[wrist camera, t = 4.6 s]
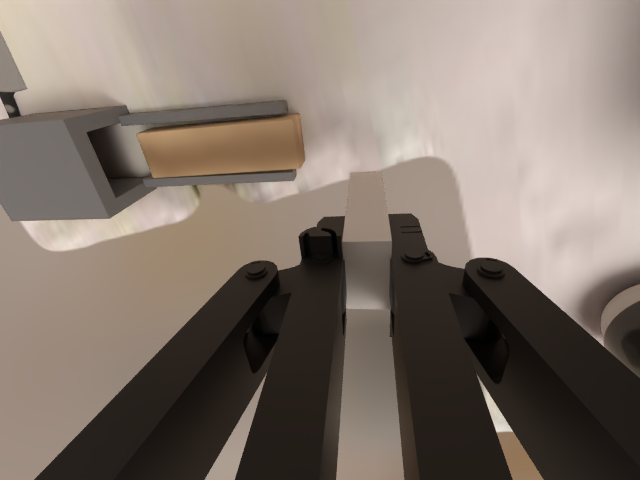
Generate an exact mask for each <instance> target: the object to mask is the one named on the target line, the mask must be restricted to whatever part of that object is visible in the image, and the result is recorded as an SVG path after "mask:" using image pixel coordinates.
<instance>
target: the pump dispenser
mask: <svg viewBox="0 0 640 480" xmlns="http://www.w3.org/2000/svg"><path fill="white" fill-rule="evenodd" d="M601 332H602V336H603V339H604V346H605V348H606V349H607V350H608V351H609V352H610V353H612V354H613V355H614V356H615V357H616V358H617V359H618V360H620V361H621V362H622V363H623V364H624V365H625V366H626V367H628V368H629V369H630V370H631V371H632V372H633V373H634V374H636V375H637V376H638V377H639V378H640V284H638V285H635V286H632V287H630V288H628V289H626V290H624V291H622V292H620V293H619V294H617V295H616V296H615V297H614V298H612V299H611V300H610V301H609V303H608V304H607V305H606V307H605V308H604V310H603V313H602V316H601Z"/></svg>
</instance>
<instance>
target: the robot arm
mask: <svg viewBox="0 0 640 480" xmlns="http://www.w3.org/2000/svg"><path fill="white" fill-rule="evenodd" d="M299 243H300V250H301V256H302V260H301V263H300V265H298V266H295V267H292V268H289V269H284V270H279V271H278V269H277V266H276V265H275V264H274V263H273V262H270V261H254V262H251V263H249V264H246V265H244V266H243V267H241V268H240V269H239V270H238V271H237V272H236V273H235V274H234V275H233V276H232V277H231V278H230V279H229V280H228V281H227V282H226V283H225V284H224V285H223V286H222V287H221V288H220V289H219V290H218V291H217V292H216V293H215V295H213V296H212V297H211V298H210V300H209V301H208V302H207V303H206V304H205V305H204V306H203V307H202V308H201V309H200V310H199V311H198V312H197V313H196V314H195V315H194V316H193V317H192V318H191V319H190V320H189V321H188V322H187V323H186V324H185V325H184V326H183V327H182V328H181V329H180V330H179V331H178V332H177V333H176V335H175V336H174V337H173V338H172V339H171V340H170V341H169V342H168V343H167V344H166V345H165V346H164V347H163V348H162V349H161V350H160V351H159V352H158V353H157V354H156V355H155V356H154V357H153V358H152V359H151V360H150V361H149V362H148V363H147V364H146V365H145V366H144V367H143V369H142V370H140V371H139V373H138V374H137V375H136V376H135V377H134V378H133V379H132V380H131V381H130V382H129V383H128V384H127V385H126V386H125V387H124V388H123V389H122V390H121V391H120V392H119V393H118V394H117V395H116V396H115V397H114V398H113V399H112V400H111V401H110V402H109V403H108V404H107V405H106V406H105V408H103V410H102V411H101V412H100V413H99V414H98V415H97V416H96V417H95V418H94V419H93V420H92V421H91V422H90V423H89V424H88V425H87V426H86V427H85V428H84V429H83V430H82V431H81V432H80V433H79V434H78V435H77V436H76V437H75V438H74V439H73V440H72V441H71V442H70V443H69V444H68V445H67V447H66V448H65V449H64V450H63V451H62V452H61V453H60V454H59V455H58V456H57V457H56V458H55V459H54V460H53V461H52V462H51V463H50V464H49V465H48V466H47V467H46V468H45V469H44V470H43V471H42V472H41V473H40V474H39V475H38V476H37V477H36V478H35V479H34V480H204V479H205V477H206V476H207V474H208V473H209V471H210V469H211V468H212V466H213V464H214V462H215V461H216V459H217V457H218V456H219V454H220V452H221V450H222V449H223V447H224V445H225V443H226V442H227V440H228V438H229V436H230V435H231V433H232V432H233V430H234V428H235V426H236V425H237V423H238V421H239V420H240V418H241V416H242V414H243V412H244V411H245V409H246V408H247V406H248V404H249V402H250V401H251V399H252V397H253V395H254V394H255V392H256V390H257V389H258V387H259V385H260V383H261V382H262V380H263V378H264V377H265V375H266V373H267V376H266V379H265V382H264V385H263V388H262V392H261V395H260V398H259V402H258V405H257V408H256V412H255V415H254V418H253V421H252V425H251V428H250V432H249V435H248V438H247V441H246V445H245V448H244V451H243V455H242V458H241V461H240V465H239V468H238V471H237V474H236V478H235V480H336V472H337V457H338V442H339V427H340V411H341V396H342V381H343V366H344V350H345V336H346V335H345V334H346V309H390V307H391V312H390V315H391V316H390V337H392V345H393V356H394V367H395V379H396V390H397V400H398V412H399V423H400V434H401V444H402V445H401V446H402V456H403V468H404V478H405V480H512V477H511V474H510V471H509V468H508V465H507V462H506V459H505V456H504V453H503V450H502V448H501V445H500V442H499V439H498V436H497V433H496V430H495V427H494V424H493V421H492V418H491V415H490V412H489V409H488V407H487V404H486V401H485V398H484V395H483V392H482V389H481V386H480V383H479V380H478V377H479V378H480V380H481V381H482V383H483V385H484V386H485V388H486V389H487V391H488V392H489V394H490V396H491V397H492V399H493V400H494V402H495V403H496V405H497V407H498V408H499V410H500V411H501V413H502V414H503V416H504V418H505V419H506V421H507V422H508V424H509V425H510V427H511V429H512V430H513V432H514V433H515V435H516V437H517V438H518V440H519V441H520V443H521V444H522V446H523V448H524V449H525V451H526V452H527V454H528V455H529V457H530V459H531V460H532V462H533V463H534V465H535V466H536V468H537V470H538V471H539V473H540V474H541V476H542V477H543V479H544V480H640V378H639V377H638V376H637V375H636V374H634V373H633V372H632V371H631V370H630V369H629V368H628V367H626V366H625V365H624V364H623V363H622V362H621V361H620V360H618V359H617V358H616V357H615V356H614V355H613V354H612V353H610V352H609V351H608V350H607V349H606V348H605V347H604V346H603V345H601V344H600V343H599V342H598V341H597V340H596V339H595V338H593V337H592V336H591V335H590V334H589V333H588V332H587V331H585V330H584V329H583V328H582V327H581V326H580V325H579V324H577V323H576V322H575V321H574V320H573V319H572V318H571V317H569V316H568V315H567V314H566V313H565V312H564V311H563V310H561V309H560V308H559V307H558V306H557V305H556V304H555V303H553V302H552V301H551V300H550V299H549V298H548V297H547V296H545V295H544V294H543V293H542V292H541V291H540V290H539V289H537V288H536V287H535V286H534V285H533V284H532V283H531V282H529V281H528V280H527V279H526V278H525V277H524V276H523V275H522V274H520V273H519V272H518V271H517V270H516V269H515V268H514V267H512V266H510V265H509V264H507V263H506V262H503V261H500V260H497V259H493V258H476V259H472V260H470V261H469V262H467V263H466V266H465V269H461V268H456V267H451V266H447V265H444V264H441V263H439V262H438V261H437V258H436V256H435V255H434V253H433V252H431V251H429V250H428V248H427V245H426V242H425V239H424V236H423V233H422V230H421V227H420V223H419V221H418V219H417V218H416V217H415V216H414V215H412V214H388V210H387V204H386V196H385V189H384V182H383V175H382V171H372V172H352V173H350V181H349V190H348V198H347V206H346V214H345V216H339V217H324V218H322V219H321V220H320V221H319V222H318V224H317V227H313V228H310V229H307V230H305V231H304V232H302V233H301V234H300V235H299ZM476 373H477V374H476ZM477 375H478V377H477Z"/></svg>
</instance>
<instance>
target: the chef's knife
mask: <svg viewBox="0 0 640 480" xmlns="http://www.w3.org/2000/svg"><path fill="white" fill-rule="evenodd" d="M25 89H27V87H26V85H25V83H24V81H23V79H22V76H21V74H20V72H19V70H18V68H17V66H16V64H15V62H14V59H13V57H12V55H11V53H10V51H9V49H8V47H7V45H6V42H5V40H4V38H3V36H2V34H1V32H0V98H1V100H2V102H3V104H4V106H5V109H6V111H7V113H8V116H9V118H14V117H19V116H20V113H19V110H18V107H17V104H16V102H15V99H14V97H13V95H14V93H15V92H17V91H22V90H25Z"/></svg>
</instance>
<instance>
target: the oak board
mask: <svg viewBox="0 0 640 480" xmlns="http://www.w3.org/2000/svg"><path fill="white" fill-rule="evenodd" d="M136 135H137V138H138V140H139V143H140V146H141V148H142V151H143V153H144V156H145V158H146V161H147V164H148V166H149V169H150V171H151V174H152V177H153V178H163V177H179V176H194V175H209V174H225V173H240V172H255V171H271V170H286V169H300V168H301V166H302V165H303V163H304V161H305V152H304V144H303V137H302V129H301V122H300V114H291V115H280V116H270V117H259V118H249V119H238V120H228V121H217V122H207V123H196V124H186V125H175V126H165V127H154V128H151V129H148V130H146V131H143V132H140V133H137V134H136Z"/></svg>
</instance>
